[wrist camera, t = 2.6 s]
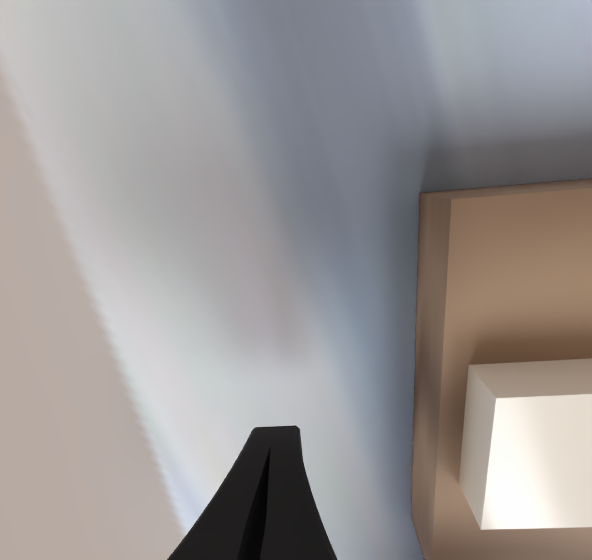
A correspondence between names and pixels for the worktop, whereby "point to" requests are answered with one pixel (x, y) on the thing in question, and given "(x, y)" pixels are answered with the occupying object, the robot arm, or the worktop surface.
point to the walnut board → (492, 340)
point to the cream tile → (528, 444)
